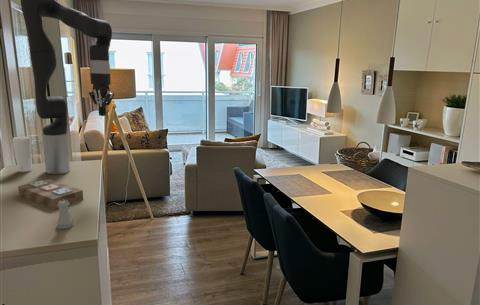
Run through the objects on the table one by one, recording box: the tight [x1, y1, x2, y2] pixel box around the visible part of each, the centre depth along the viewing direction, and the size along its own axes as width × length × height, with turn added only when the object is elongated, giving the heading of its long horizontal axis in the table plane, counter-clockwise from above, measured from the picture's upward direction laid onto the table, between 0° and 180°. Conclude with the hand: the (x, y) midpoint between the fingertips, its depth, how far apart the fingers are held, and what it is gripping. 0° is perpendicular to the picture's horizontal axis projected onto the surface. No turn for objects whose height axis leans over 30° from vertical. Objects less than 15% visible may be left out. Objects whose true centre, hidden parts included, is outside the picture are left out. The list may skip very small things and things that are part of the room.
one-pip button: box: [40, 184, 60, 192], centre depth 124 cm, size 4×4×2 cm
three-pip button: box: [28, 180, 48, 188], centre depth 128 cm, size 4×4×2 cm
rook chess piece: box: [56, 200, 74, 230], centre depth 103 cm, size 4×4×8 cm
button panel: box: [17, 178, 84, 210], centre depth 125 cm, size 21×11×4 cm, turn 59°
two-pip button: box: [52, 188, 72, 196], centre depth 121 cm, size 4×4×2 cm
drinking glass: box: [12, 135, 33, 173], centre depth 152 cm, size 7×7×15 cm
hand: (102, 115), depth 142 cm, fingers closed
